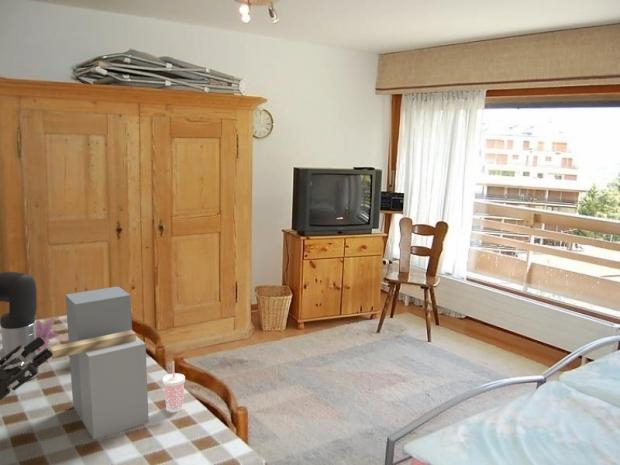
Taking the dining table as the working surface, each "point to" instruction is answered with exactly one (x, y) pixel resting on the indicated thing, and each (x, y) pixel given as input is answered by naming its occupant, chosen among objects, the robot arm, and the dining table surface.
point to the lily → (45, 332)
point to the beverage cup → (174, 391)
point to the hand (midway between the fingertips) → (46, 345)
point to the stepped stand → (106, 363)
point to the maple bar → (92, 344)
